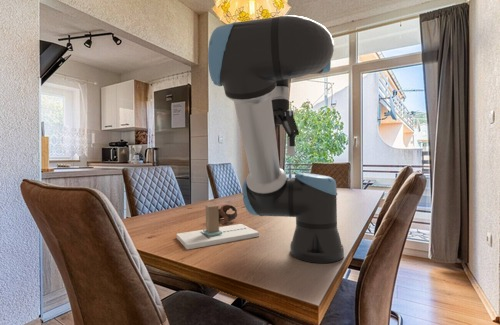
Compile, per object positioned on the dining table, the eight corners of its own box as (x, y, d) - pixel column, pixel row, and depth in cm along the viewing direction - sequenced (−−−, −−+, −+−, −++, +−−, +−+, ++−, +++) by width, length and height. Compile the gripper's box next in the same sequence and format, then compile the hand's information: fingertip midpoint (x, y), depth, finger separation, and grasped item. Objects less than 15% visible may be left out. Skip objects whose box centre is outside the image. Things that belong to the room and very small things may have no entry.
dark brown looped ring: (234, 218, 125) (239, 205, 121) (233, 232, 116) (238, 218, 113) (209, 213, 123) (213, 199, 120) (206, 227, 115) (210, 212, 111)
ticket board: (259, 236, 95) (258, 231, 95) (187, 249, 83) (187, 244, 83) (241, 227, 107) (241, 223, 107) (176, 237, 95) (176, 233, 95)
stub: (222, 233, 92) (221, 206, 92) (208, 235, 90) (208, 207, 90) (216, 229, 98) (215, 203, 98) (203, 231, 95) (202, 205, 95)
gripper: (308, 94, 92) (309, 155, 92) (269, 106, 114) (270, 156, 114) (291, 91, 88) (292, 155, 89) (254, 105, 110) (255, 156, 111)
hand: (279, 156), depth 101 cm, fingers open, 13 cm apart
